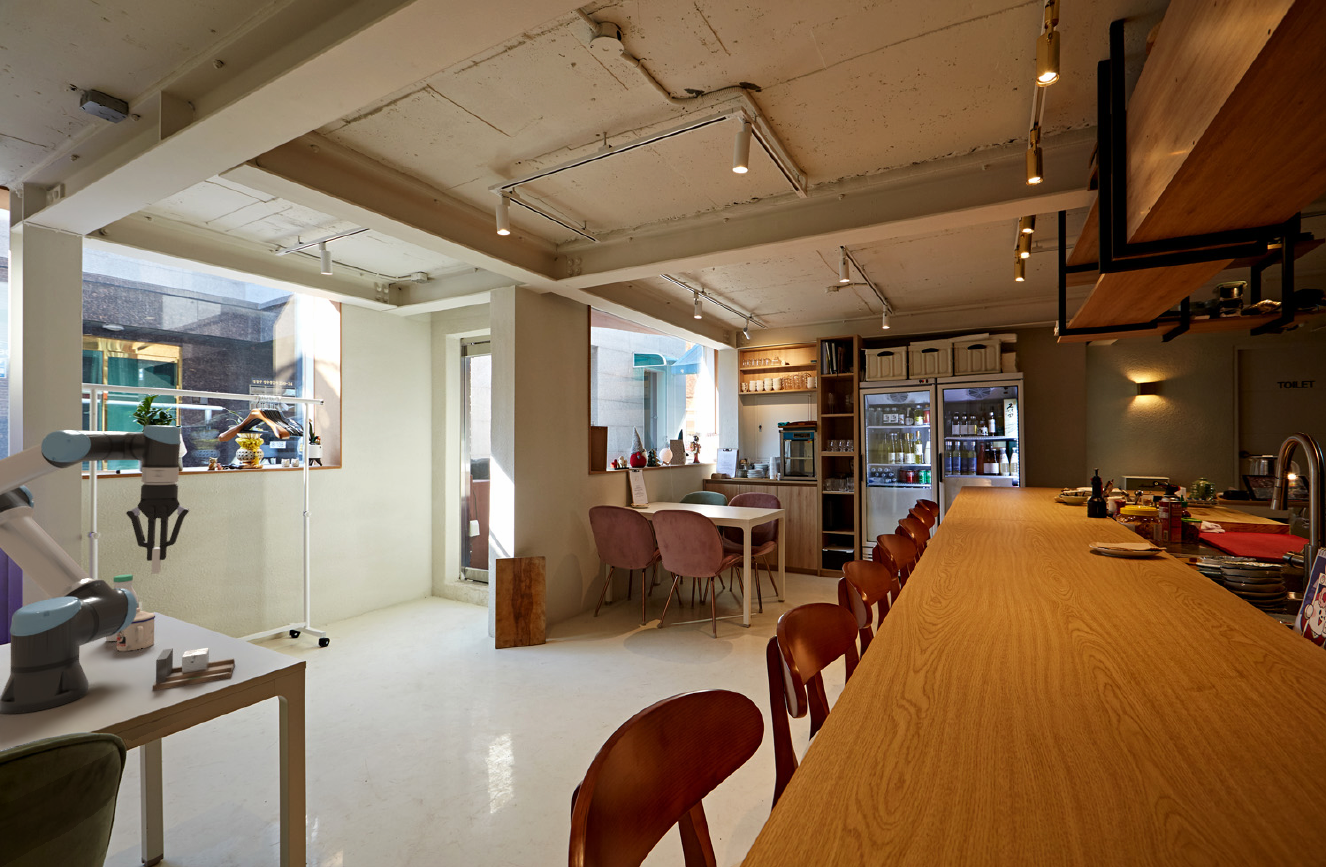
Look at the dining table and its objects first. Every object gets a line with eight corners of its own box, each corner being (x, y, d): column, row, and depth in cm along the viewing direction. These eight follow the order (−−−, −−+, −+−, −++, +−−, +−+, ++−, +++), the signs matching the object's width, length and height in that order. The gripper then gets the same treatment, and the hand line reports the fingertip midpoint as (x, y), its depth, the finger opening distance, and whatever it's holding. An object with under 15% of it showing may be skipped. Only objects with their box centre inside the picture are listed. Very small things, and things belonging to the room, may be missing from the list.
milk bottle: (109, 644, 186) (110, 579, 187) (103, 639, 191) (104, 576, 192) (141, 637, 193) (142, 575, 193) (134, 633, 197) (135, 572, 198)
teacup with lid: (112, 647, 183) (113, 609, 183) (151, 640, 190) (151, 603, 190) (120, 656, 176) (121, 616, 176) (160, 648, 183) (161, 609, 183)
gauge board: (152, 690, 151) (152, 661, 151) (161, 676, 160) (161, 648, 160) (230, 677, 159) (231, 650, 159) (234, 664, 169) (235, 638, 169)
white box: (179, 680, 153) (179, 661, 153) (185, 669, 161) (185, 651, 161) (204, 676, 156) (204, 657, 156) (208, 666, 163) (208, 647, 163)
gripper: (124, 484, 153) (119, 577, 153) (189, 484, 160) (185, 573, 160) (130, 482, 159) (126, 571, 159) (192, 482, 166) (188, 567, 166)
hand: (155, 572), depth 159 cm, fingers closed
